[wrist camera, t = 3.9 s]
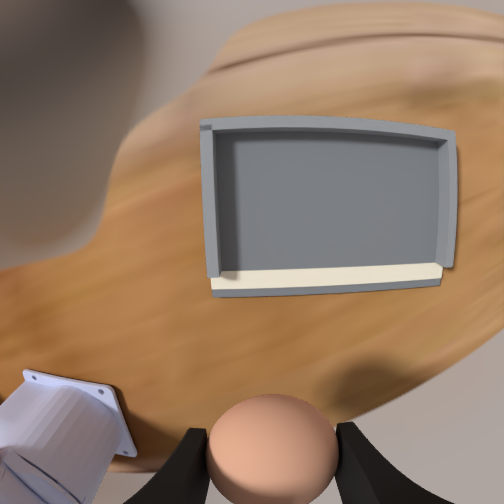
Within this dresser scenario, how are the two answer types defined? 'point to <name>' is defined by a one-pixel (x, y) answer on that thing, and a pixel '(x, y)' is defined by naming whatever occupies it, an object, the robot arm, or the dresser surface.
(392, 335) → the dresser surface
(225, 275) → the grey shallow tray
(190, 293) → the dresser surface
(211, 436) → the ball
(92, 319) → the dresser surface
